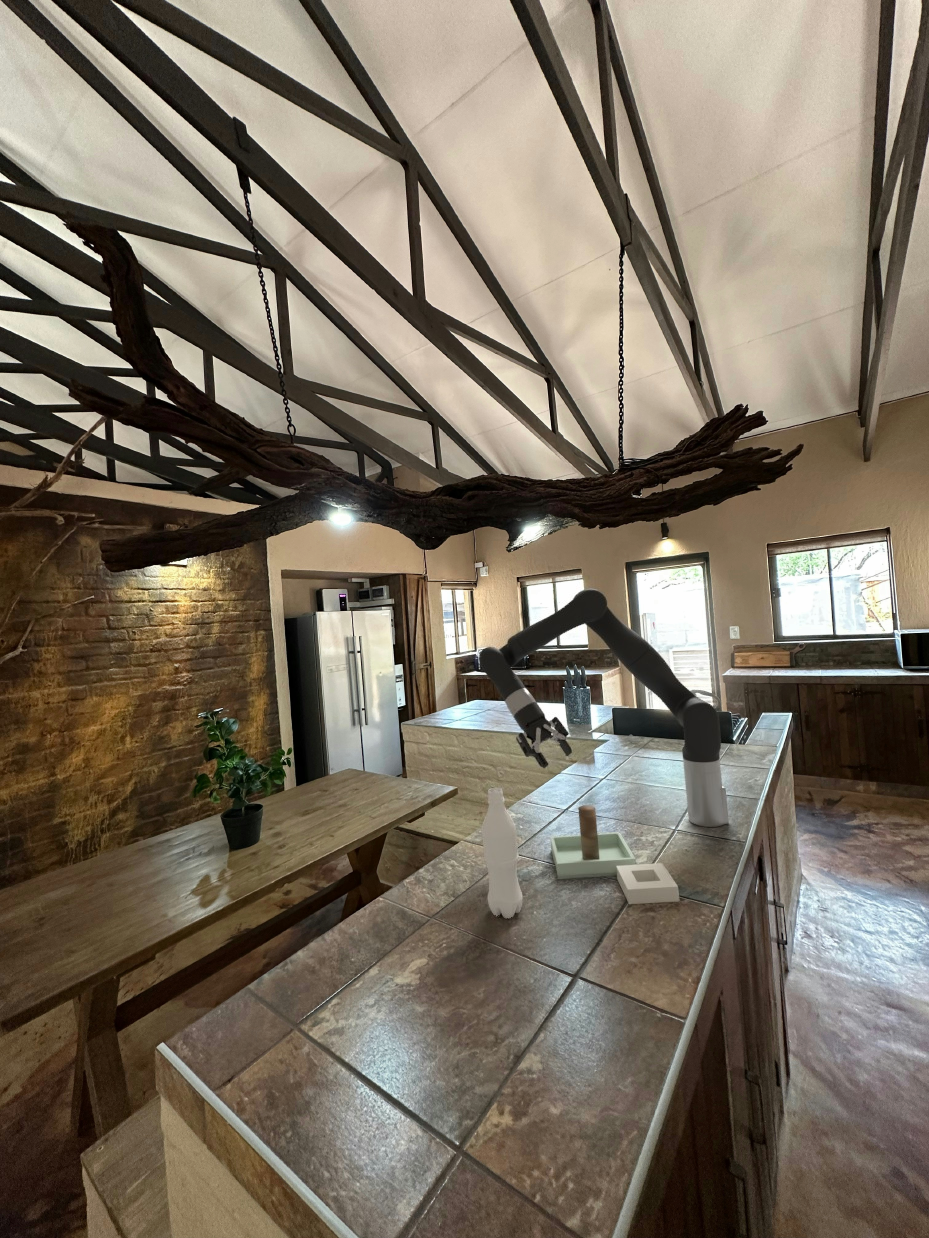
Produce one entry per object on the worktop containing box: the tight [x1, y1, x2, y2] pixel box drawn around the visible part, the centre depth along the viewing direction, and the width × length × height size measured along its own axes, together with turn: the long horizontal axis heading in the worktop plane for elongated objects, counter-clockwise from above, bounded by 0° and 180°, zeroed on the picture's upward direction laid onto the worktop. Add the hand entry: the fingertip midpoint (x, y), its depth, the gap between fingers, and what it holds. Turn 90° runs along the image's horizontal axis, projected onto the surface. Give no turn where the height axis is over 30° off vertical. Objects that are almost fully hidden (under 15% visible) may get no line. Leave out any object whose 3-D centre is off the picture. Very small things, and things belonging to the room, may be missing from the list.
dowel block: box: [616, 862, 680, 905], centre depth 108 cm, size 10×10×3 cm
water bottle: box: [481, 787, 524, 919], centre depth 105 cm, size 7×7×25 cm
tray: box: [549, 831, 637, 880], centre depth 123 cm, size 18×15×4 cm
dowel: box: [578, 804, 600, 860], centre depth 123 cm, size 4×4×12 cm
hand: (558, 760), depth 133 cm, fingers open, 8 cm apart
